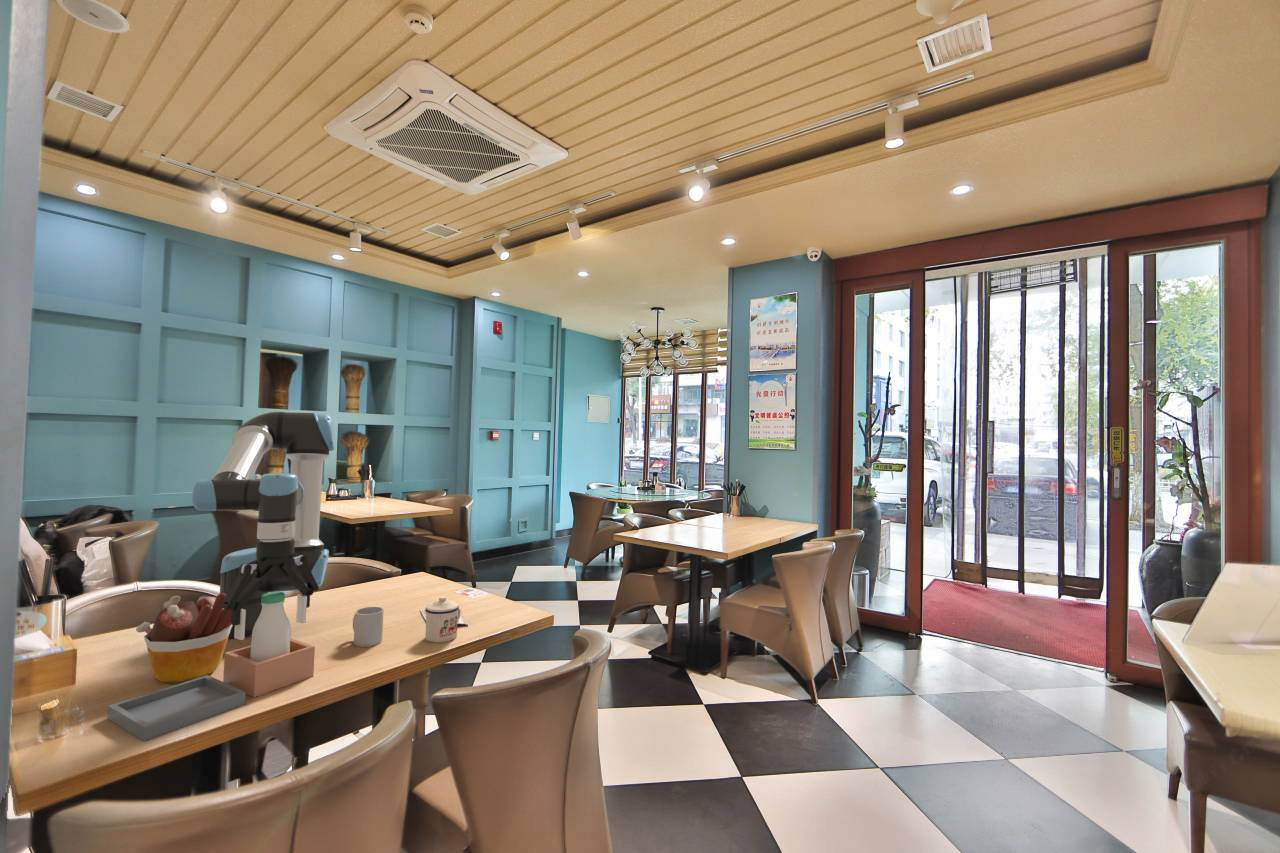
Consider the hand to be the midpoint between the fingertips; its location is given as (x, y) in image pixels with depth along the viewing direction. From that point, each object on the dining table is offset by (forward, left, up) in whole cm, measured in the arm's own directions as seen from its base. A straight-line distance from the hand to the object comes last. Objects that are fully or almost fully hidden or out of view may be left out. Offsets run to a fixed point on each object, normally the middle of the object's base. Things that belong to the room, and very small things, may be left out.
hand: (271, 630), depth 128 cm
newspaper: (-2, +53, -13) cm, 55 cm away
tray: (0, -17, -12) cm, 21 cm away
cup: (-4, +27, -12) cm, 30 cm away
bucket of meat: (-19, -8, -12) cm, 23 cm away
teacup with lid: (+11, +42, -12) cm, 45 cm away
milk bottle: (0, 0, -12) cm, 12 cm away
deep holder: (0, 0, -12) cm, 12 cm away
